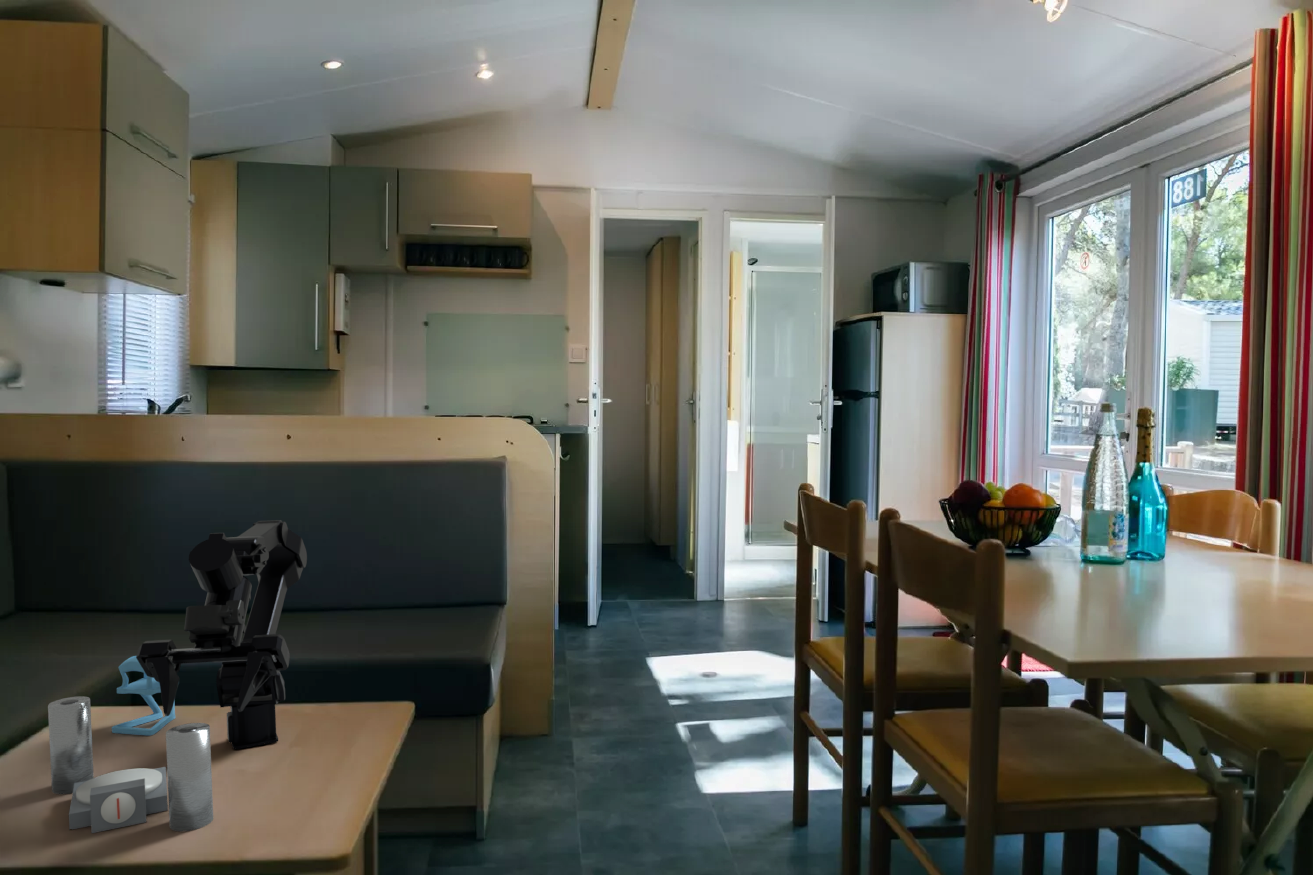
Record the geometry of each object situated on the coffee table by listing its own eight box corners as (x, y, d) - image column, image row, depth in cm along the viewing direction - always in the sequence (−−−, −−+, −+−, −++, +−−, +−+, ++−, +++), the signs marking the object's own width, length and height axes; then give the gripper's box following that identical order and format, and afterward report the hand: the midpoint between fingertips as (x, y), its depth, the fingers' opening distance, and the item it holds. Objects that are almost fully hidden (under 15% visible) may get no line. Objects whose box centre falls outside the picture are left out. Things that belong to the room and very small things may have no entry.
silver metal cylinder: (212, 810, 124) (208, 719, 123) (214, 825, 119) (210, 731, 119) (169, 818, 121) (165, 726, 121) (170, 834, 117) (166, 739, 116)
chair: (187, 718, 160) (185, 648, 159) (150, 735, 151) (148, 662, 151) (148, 716, 161) (146, 646, 161) (110, 732, 153) (107, 659, 153)
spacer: (94, 776, 135) (90, 694, 135) (93, 789, 131) (89, 703, 130) (53, 783, 133) (49, 699, 132) (50, 797, 129) (46, 710, 128)
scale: (166, 780, 134) (164, 747, 133) (168, 818, 121) (166, 782, 121) (75, 797, 128) (73, 762, 128) (67, 839, 116) (66, 801, 116)
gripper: (138, 583, 129) (107, 687, 118) (281, 576, 131) (263, 678, 121) (162, 626, 137) (135, 727, 126) (296, 619, 139) (281, 718, 129)
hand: (203, 712), depth 125 cm, fingers open, 9 cm apart
